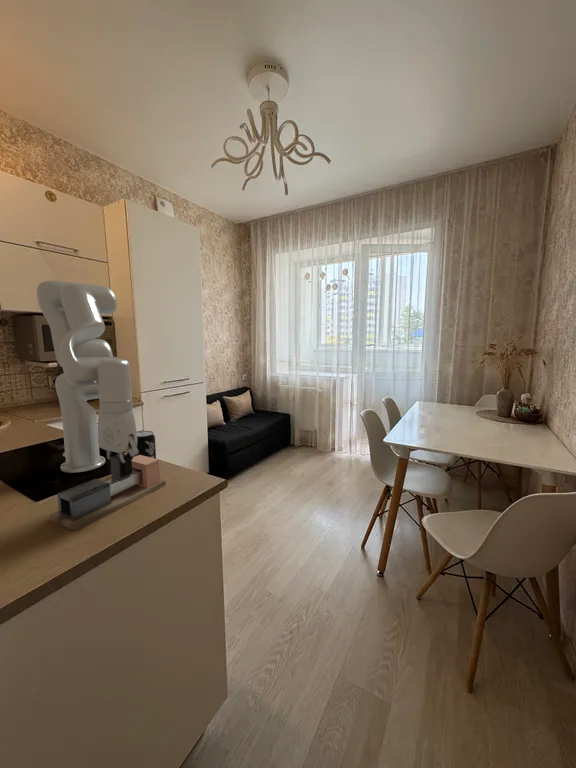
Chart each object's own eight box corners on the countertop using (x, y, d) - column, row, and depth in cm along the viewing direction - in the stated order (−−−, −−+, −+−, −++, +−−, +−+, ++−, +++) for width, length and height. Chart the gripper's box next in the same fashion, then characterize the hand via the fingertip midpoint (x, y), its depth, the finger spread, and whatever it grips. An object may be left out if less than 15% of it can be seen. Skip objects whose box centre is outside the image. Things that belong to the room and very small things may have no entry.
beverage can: (141, 474, 100) (139, 437, 99) (130, 469, 104) (128, 433, 103) (160, 467, 106) (158, 432, 104) (149, 463, 109) (148, 429, 108)
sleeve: (59, 515, 75) (57, 493, 74) (96, 498, 83) (95, 478, 82) (74, 521, 72) (72, 499, 72) (111, 503, 80) (109, 483, 80)
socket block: (128, 482, 92) (126, 459, 91) (140, 476, 96) (139, 454, 95) (147, 488, 89) (146, 464, 88) (160, 481, 93) (158, 459, 92)
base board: (50, 519, 75) (49, 514, 75) (141, 478, 98) (141, 474, 98) (75, 531, 71) (75, 526, 71) (165, 485, 93) (165, 481, 93)
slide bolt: (75, 505, 77) (72, 469, 76) (133, 479, 91) (131, 449, 90) (84, 508, 76) (81, 472, 74) (142, 482, 90) (140, 451, 88)
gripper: (82, 406, 83) (87, 472, 86) (124, 413, 76) (129, 486, 79) (109, 401, 90) (113, 463, 93) (150, 407, 83) (154, 474, 85)
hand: (120, 473), depth 86 cm, fingers closed on slide bolt, 3 cm apart
